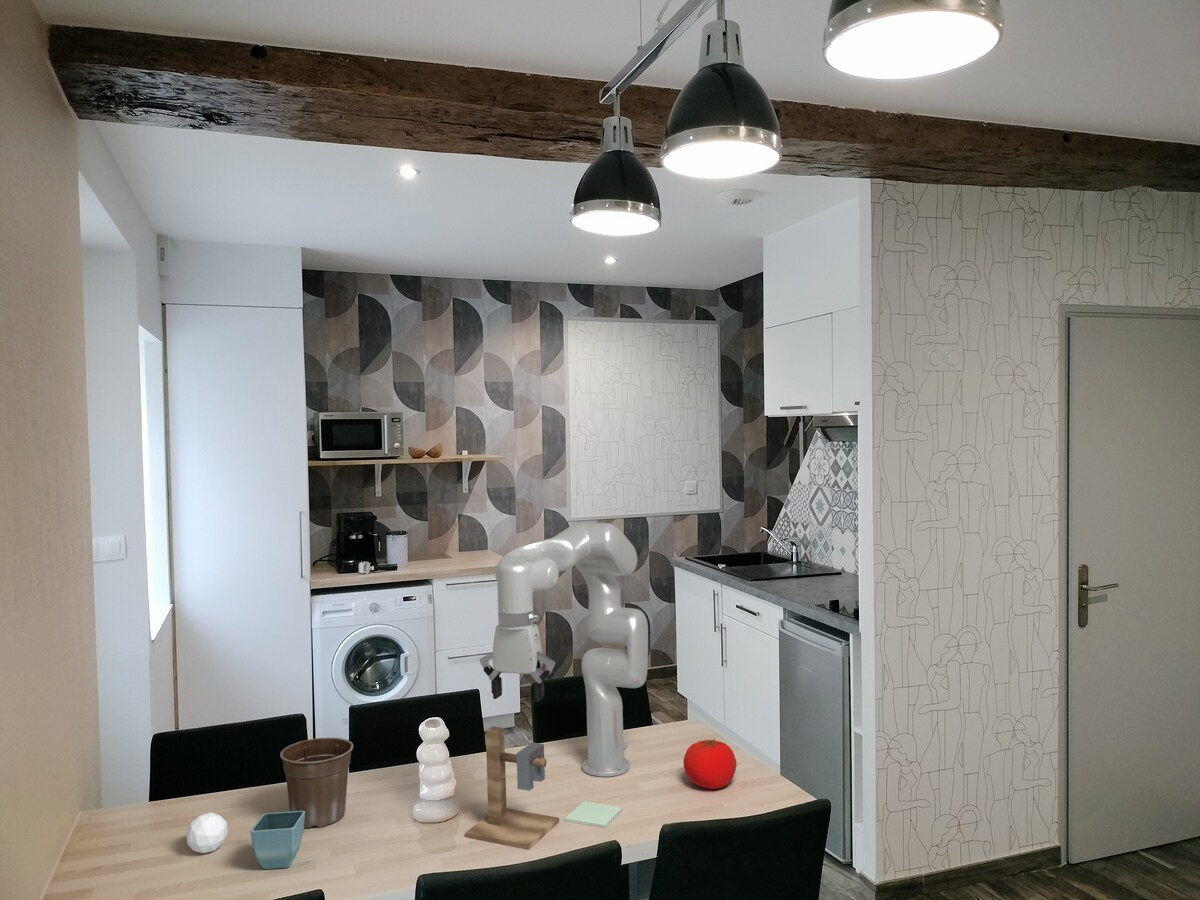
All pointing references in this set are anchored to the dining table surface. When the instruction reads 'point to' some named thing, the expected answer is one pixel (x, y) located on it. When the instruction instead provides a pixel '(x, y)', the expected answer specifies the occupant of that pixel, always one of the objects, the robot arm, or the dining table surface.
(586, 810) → the mat
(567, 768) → the dining table surface
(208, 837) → the white faceted egg
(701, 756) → the tomato
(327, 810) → the plant pot
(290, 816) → the flower pot
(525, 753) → the link
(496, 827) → the stand
